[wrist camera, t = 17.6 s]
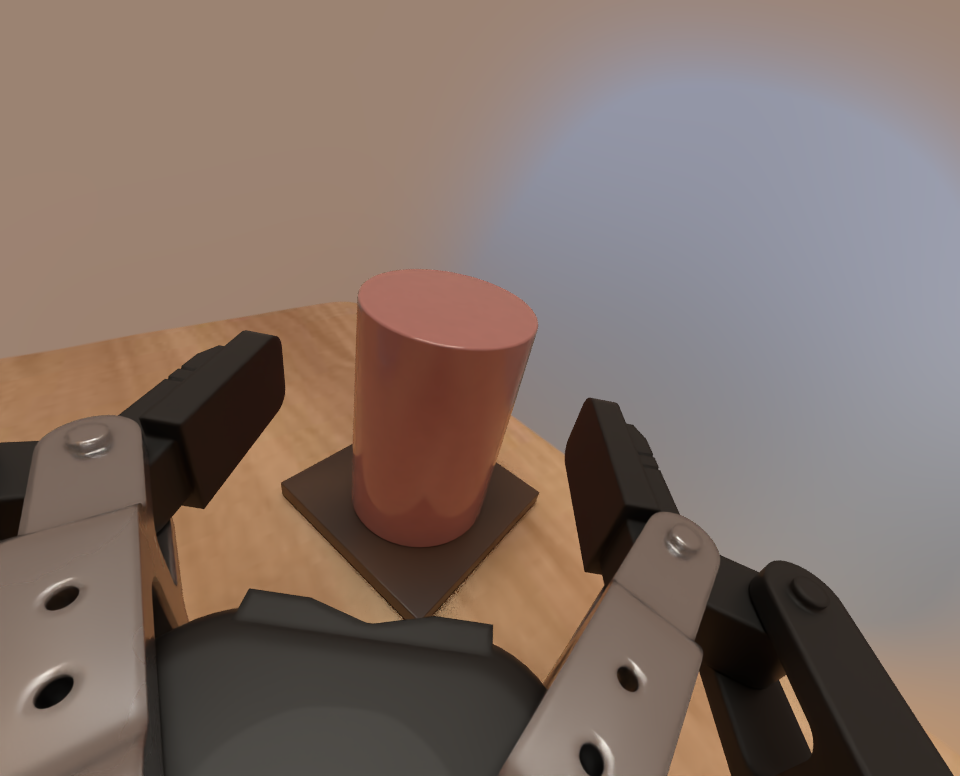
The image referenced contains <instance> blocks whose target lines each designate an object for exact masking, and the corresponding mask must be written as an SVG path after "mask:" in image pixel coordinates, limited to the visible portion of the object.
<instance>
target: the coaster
mask: <svg viewBox="0 0 960 776" xmlns="http://www.w3.org/2000/svg"><path fill="white" fill-rule="evenodd" d="M352 448H353V444H352V445H350V446H348V447H346V448H344V449H342V450H341V451H339V452H337V453H335V454H333V455H331V456H330V457H328V458H326V459H324V460H322V461H320V462H318V463H317V464H315V465H313V466H311V467H309V468H307V469H306V470H304V471H302V472H300V473H298V474H296V475H294V476H293V477H291V478H289V479H287V480H285V481H283V482H282V483H281V487H282V494H283V495H284V496H285V497H286V498H287V499H288V500H289V501H290V502H291V503H292V504H293V505H294V506H295V507H296V508H297V509H298V510H299V511H300V512H301V513H302V514H303V515H304V516H305V517H306V519H307V520H308V521H309V522H310V523H311V524H312V525H313V526H314V527H315V528H316V529H317V530H318V531H319V532H320V533H321V534H322V535H323V536H324V537H325V538H326V539H327V540H328V541H329V542H330V543H331V544H332V545H333V546H334V547H335V548H336V549H337V550H338V551H339V552H340V553H341V554H342V555H343V556H344V557H345V558H346V559H347V560H348V561H349V562H350V563H351V565H352V566H353V567H354V568H355V569H356V570H357V571H358V572H359V573H360V574H361V575H362V576H363V577H364V578H365V579H366V580H367V581H368V582H369V583H370V584H371V585H372V586H373V587H374V588H375V589H376V590H377V591H378V592H379V593H380V594H381V595H382V596H383V597H384V598H385V599H386V600H387V601H388V602H389V603H390V604H391V605H392V606H393V607H394V608H395V609H396V611H397V612H398V613H399V614H400V615H401V616H402V617H403V618H404V619H405V620H408V619H416V618H424V617H431V616H432V615H433V614H434V613H435V612H436V610H437V609H438V608H439V607H440V606H441V605H442V604H443V603H444V602H445V601H446V599H447V598H448V597H449V596H450V595H451V594H452V593H453V592H454V591H455V590H456V588H457V587H458V586H459V585H460V584H461V583H462V582H463V581H464V580H465V579H466V578H467V576H468V575H469V574H470V573H471V572H472V571H473V570H474V569H475V568H476V567H477V565H478V564H479V563H480V562H481V561H482V560H483V559H484V558H485V557H486V556H487V554H488V553H489V552H490V551H491V550H492V549H493V548H494V547H495V546H496V545H497V544H498V542H499V541H500V540H501V539H502V538H503V537H504V536H505V535H506V534H507V533H508V531H509V530H510V529H511V528H512V527H513V526H514V525H515V524H516V523H517V522H518V520H519V519H520V518H521V517H522V516H523V515H524V514H525V513H526V512H527V511H528V510H529V508H530V507H531V506H532V505H533V504H534V503H535V502H536V499H537V497H538V495H539V492H538V491H536V490H535V489H534V488H532V487H531V486H529V485H528V484H526V483H525V482H524V481H522V480H521V479H519V478H518V477H516V476H515V475H514V474H512V473H511V472H509V471H508V470H506V469H505V468H504V467H502V466H501V465H499V464H498V463H496V464H495V467H494V470H493V474H492V477H491V480H490V483H489V486H488V490H487V493H486V496H485V499H484V502H483V506H482V509H481V512H480V514H479V516H478V518H477V520H476V521H475V523H474V524H473V525H472V526H471V527H470V529H469V530H467V531H466V532H465V533H464V534H463V535H461V536H459V537H458V538H456V539H454V540H452V541H450V542H448V543H445V544H441V545H438V546H432V547H408V546H402V545H398V544H395V543H392V542H389V541H387V540H385V539H383V538H381V537H379V536H378V535H376V534H374V533H373V532H372V531H371V530H369V529H368V528H367V527H366V526H365V525H364V524H363V522H362V521H361V520H360V518H359V517H358V515H357V514H356V511H355V509H354V507H353V503H352V498H351V478H352Z"/></svg>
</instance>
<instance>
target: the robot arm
mask: <svg viewBox="0 0 960 776" xmlns="http://www.w3.org/2000/svg"><path fill="white" fill-rule="evenodd" d="M284 395H285V378H284V367H283V355H282V345H281V341H280V339H279V338H278V337H277V336H273V335H268V334H263V333H257V332H252V331H247V330H246V331H242V332H241V333H240V334H239V335H237V336H236V337H235V338H234V339H233V340H231V341H230V342H229V343H228V344H226V345H225V346H220V345H219V346H216V347H214V348H211V349H209V350H206V351H203V352H201V353H198V354H196V355H195V356H194V357H193V358H191V359H190V360H189V361H187V362H186V363H185V364H184V365H182V367H181V369H177V370H176V371H175V372H173V373H172V374H171V375H170V376H169V378H168V379H164V380H163V381H162V382H161V383H159V384H158V385H157V386H155V387H154V388H153V389H152V390H150V391H149V392H148V393H146V394H145V395H144V396H143V397H141V398H140V399H139V400H137V401H136V402H135V403H134V404H132V405H131V406H130V407H129V408H127V409H126V410H125V411H123V412H122V413H121V414H120V415H118V416H116V415H102V416H93V417H88V418H83V419H79V420H76V421H73V422H70V423H67V424H65V425H63V426H60V427H58V428H56V429H55V430H53V431H51V432H50V433H48V434H47V435H45V436H44V437H43V438H42V439H41V440H40V441H27V442H5V443H0V776H667V774H668V771H669V768H670V764H671V761H672V758H673V755H674V751H675V748H676V745H677V741H678V738H679V735H680V731H681V728H682V725H683V722H684V718H685V715H686V712H687V708H688V705H689V702H690V699H691V695H692V692H693V689H694V685H695V682H696V679H697V676H698V672H700V675H701V678H702V682H703V685H704V688H705V692H706V695H707V698H708V701H709V705H710V708H711V711H712V714H713V718H714V721H715V724H716V727H717V731H718V734H719V737H720V740H721V744H722V747H723V750H724V753H725V757H726V760H727V763H728V767H729V770H730V773H731V776H954V775H953V774H952V772H951V771H950V769H949V768H948V766H947V765H946V763H945V761H944V760H943V758H942V757H941V755H940V754H939V752H938V751H937V749H936V748H935V746H934V744H933V743H932V741H931V740H930V738H929V737H928V735H927V734H926V732H925V731H924V729H923V727H922V726H921V724H920V723H919V721H918V720H917V718H916V717H915V715H914V714H913V712H912V711H911V709H910V707H909V706H908V704H907V703H906V701H905V700H904V698H903V697H902V695H901V694H900V692H899V691H898V689H897V687H896V686H895V684H894V683H893V681H892V680H891V678H890V677H889V675H888V673H887V672H886V670H885V669H884V667H883V666H882V664H881V663H880V661H879V660H878V658H877V657H876V655H875V653H874V652H873V650H872V649H871V647H870V646H869V644H868V643H867V641H866V639H865V638H864V636H863V635H862V633H861V632H860V630H859V629H858V627H857V626H856V624H855V622H854V621H853V619H852V618H851V616H850V615H849V613H848V612H847V610H846V609H845V607H844V606H843V604H842V602H841V601H840V600H839V598H838V597H837V596H836V595H835V593H833V591H832V590H831V589H830V588H829V587H828V586H827V585H826V584H825V583H823V582H822V581H821V580H820V579H819V578H817V577H816V576H815V575H813V574H812V573H810V572H809V571H807V570H806V569H804V568H802V567H800V566H798V565H795V564H793V563H789V562H786V561H773V562H770V563H769V564H768V565H767V566H766V567H765V568H763V569H762V570H761V571H760V572H757V571H755V570H752V569H750V568H748V567H746V566H743V565H741V564H739V563H737V562H734V561H732V560H730V559H728V558H725V557H723V556H721V555H719V551H718V549H717V547H716V545H715V543H714V542H713V540H712V539H711V538H710V536H709V535H708V534H707V533H706V532H705V531H704V530H703V529H702V528H701V527H700V526H698V525H697V524H696V523H694V522H693V521H691V520H689V519H688V518H686V517H684V516H681V515H680V514H679V512H678V509H677V507H676V505H675V503H674V500H673V498H672V496H671V494H670V491H669V489H668V487H667V485H666V483H665V480H664V478H663V476H662V474H661V471H660V470H658V465H657V463H656V460H655V458H654V457H653V453H652V451H651V449H650V447H649V444H648V442H647V440H646V438H644V436H643V435H642V434H641V433H640V432H639V431H638V430H637V429H636V428H635V427H634V425H631V424H626V422H625V420H624V417H623V415H622V412H621V410H620V407H619V405H618V404H617V403H615V402H609V401H605V400H599V399H594V398H588V399H586V401H585V402H584V404H583V406H582V408H581V411H580V413H579V416H578V418H577V420H576V422H575V425H574V427H573V430H572V432H571V434H570V437H569V439H568V441H567V445H566V450H565V466H566V472H567V477H568V483H569V488H570V494H571V499H572V505H573V510H574V516H575V521H576V527H577V532H578V538H579V543H580V549H581V554H582V560H583V565H584V571H585V572H588V573H594V574H600V575H602V576H603V580H604V587H603V588H602V590H601V591H600V593H599V594H598V596H597V598H596V599H595V601H594V602H593V604H592V606H591V607H590V609H589V611H588V612H587V614H586V615H585V617H584V619H583V620H582V622H581V624H580V625H579V627H578V628H577V630H576V632H575V633H574V635H573V637H572V638H571V640H570V641H569V643H568V645H567V646H566V648H565V650H564V651H563V653H562V654H561V656H560V657H559V659H558V661H557V662H556V664H555V665H554V667H553V668H552V670H551V671H550V673H549V674H548V676H547V678H546V679H545V681H544V682H543V684H542V682H541V681H540V680H539V679H538V677H537V676H536V675H535V674H534V673H533V672H532V671H531V670H530V669H529V668H528V667H527V666H526V665H524V664H523V663H522V662H521V661H519V660H518V659H517V658H516V657H514V656H513V655H511V654H510V653H508V652H507V651H505V650H503V649H502V648H500V647H498V646H496V645H494V644H493V625H491V624H484V623H478V622H471V621H464V620H458V619H451V618H444V617H437V616H432V617H424V618H416V619H408V620H400V621H392V622H384V623H374V624H371V623H366V622H363V621H361V620H359V619H356V618H354V617H352V616H350V615H348V614H346V613H343V612H341V611H339V610H337V609H335V608H332V607H330V606H328V605H326V604H324V603H321V602H319V601H317V600H315V599H313V598H310V597H303V596H296V595H290V594H283V593H276V592H269V591H263V590H256V589H249V590H248V591H247V593H246V595H245V597H244V599H243V601H242V603H241V605H240V606H239V608H236V609H230V610H225V611H221V612H216V613H213V614H210V615H207V616H204V617H201V618H198V619H195V620H192V621H190V622H189V620H188V616H187V613H186V609H185V604H184V599H183V592H182V584H181V576H180V568H179V559H178V551H177V543H176V534H175V526H174V522H173V519H172V516H173V515H174V514H175V513H176V511H177V510H178V509H179V508H180V507H181V505H182V506H189V507H195V508H201V509H204V508H205V507H206V506H207V505H208V503H209V502H210V501H211V499H212V498H213V497H214V495H215V494H216V493H217V491H218V490H219V489H220V487H221V486H222V485H223V483H224V482H225V481H226V479H227V478H228V477H229V476H230V474H231V473H232V472H233V470H234V469H235V468H236V466H237V465H238V464H239V462H240V461H241V460H242V458H243V457H244V456H245V454H246V453H247V452H248V450H249V449H250V448H251V447H252V445H253V444H254V443H255V441H256V440H257V439H258V437H259V436H260V435H261V433H262V432H263V431H264V429H265V428H266V427H267V425H268V424H269V423H270V421H271V420H272V419H273V418H274V416H275V415H276V414H277V412H278V411H279V409H280V407H281V405H282V403H283V400H284ZM785 675H787V677H788V679H789V682H790V684H791V686H792V688H793V690H794V692H795V695H796V697H797V699H798V701H799V703H800V705H801V708H802V710H803V712H804V714H805V716H806V718H807V720H808V723H809V725H810V728H811V731H812V736H813V752H812V753H811V751H810V749H809V746H808V744H807V742H806V740H805V737H804V735H803V733H802V731H801V728H800V726H799V724H798V722H797V720H796V717H795V715H794V713H793V711H792V708H791V706H790V704H789V702H788V699H787V697H786V695H785V693H784V690H783V688H782V686H781V684H780V681H779V679H781V678H782V677H783V676H785Z"/></svg>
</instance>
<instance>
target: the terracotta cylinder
mask: <svg viewBox="0 0 960 776" xmlns="http://www.w3.org/2000/svg"><path fill="white" fill-rule="evenodd" d="M537 329H538V322H537V317H536V315H535V314H534V312H533V310H532V309H531V308H530V307H529V306H528V305H527V304H526V303H525V302H524V301H523V300H521V299H520V298H518V297H517V296H515V295H514V294H512V293H510V292H509V291H506V290H505V289H503V288H501V287H498V286H496V285H494V284H491V283H489V282H486V281H483V280H480V279H477V278H474V277H470V276H466V275H461V274H457V273H452V272H446V271H438V270H428V269H406V270H396V271H390V272H385V273H382V274H378V275H376V276H374V277H371V278H370V279H368V280H367V281H365V282H364V283H363V284H362V285H361V287H360V289H359V291H358V297H357V328H356V358H355V388H354V418H353V448H352V478H351V498H352V503H353V507H354V509H355V511H356V514H357V515H358V517H359V518H360V520H361V521H362V522H363V524H364V525H365V526H366V527H367V528H368V529H369V530H371V531H372V532H373V533H374V534H376V535H378V536H379V537H381V538H383V539H385V540H387V541H389V542H392V543H395V544H398V545H402V546H408V547H432V546H438V545H441V544H445V543H448V542H450V541H452V540H454V539H456V538H458V537H459V536H461V535H463V534H464V533H465V532H466V531H467V530H469V529H470V527H471V526H472V525H473V524H474V523H475V521H476V520H477V518H478V516H479V514H480V512H481V509H482V506H483V502H484V499H485V496H486V493H487V490H488V486H489V483H490V480H491V477H492V474H493V470H494V467H495V464H496V461H497V458H498V455H499V451H500V448H501V445H502V442H503V439H504V435H505V432H506V429H507V426H508V423H509V419H510V416H511V413H512V410H513V407H514V403H515V400H516V397H517V393H518V391H519V387H520V384H521V381H522V378H523V375H524V371H525V368H526V365H527V362H528V359H529V355H530V352H531V349H532V346H533V343H534V339H535V336H536V333H537Z"/></svg>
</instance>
